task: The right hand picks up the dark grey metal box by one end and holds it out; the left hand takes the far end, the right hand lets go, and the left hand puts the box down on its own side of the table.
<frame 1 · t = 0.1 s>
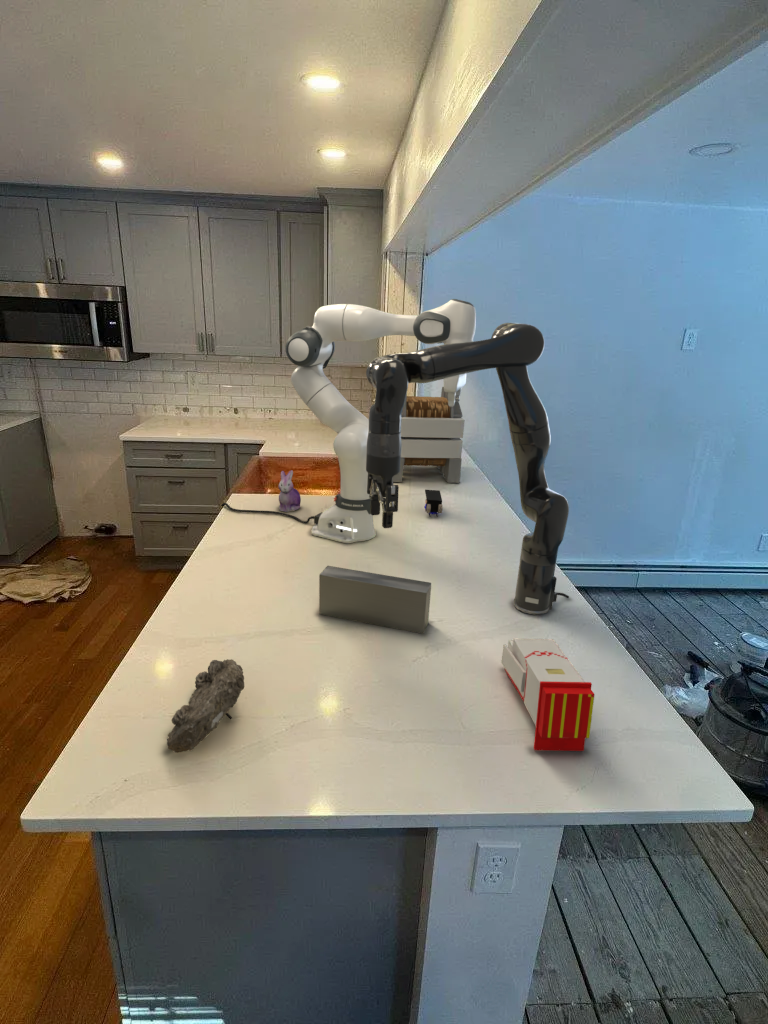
left hand: (453, 403, 174), 48 cm above the counter, tool pointing down, fingers open, 8 cm apart
right hand: (380, 520, 129), 29 cm above the counter, tool pointing down, fingers open, 8 cm apart
stacked crate on legs: (419, 473, 275), on the counter
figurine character: (432, 512, 222), on the counter
toy: (537, 702, 116), on the counter
fossil: (212, 717, 108), on the counter
box: (373, 618, 145), on the counter
figurine: (289, 508, 220), on the counter
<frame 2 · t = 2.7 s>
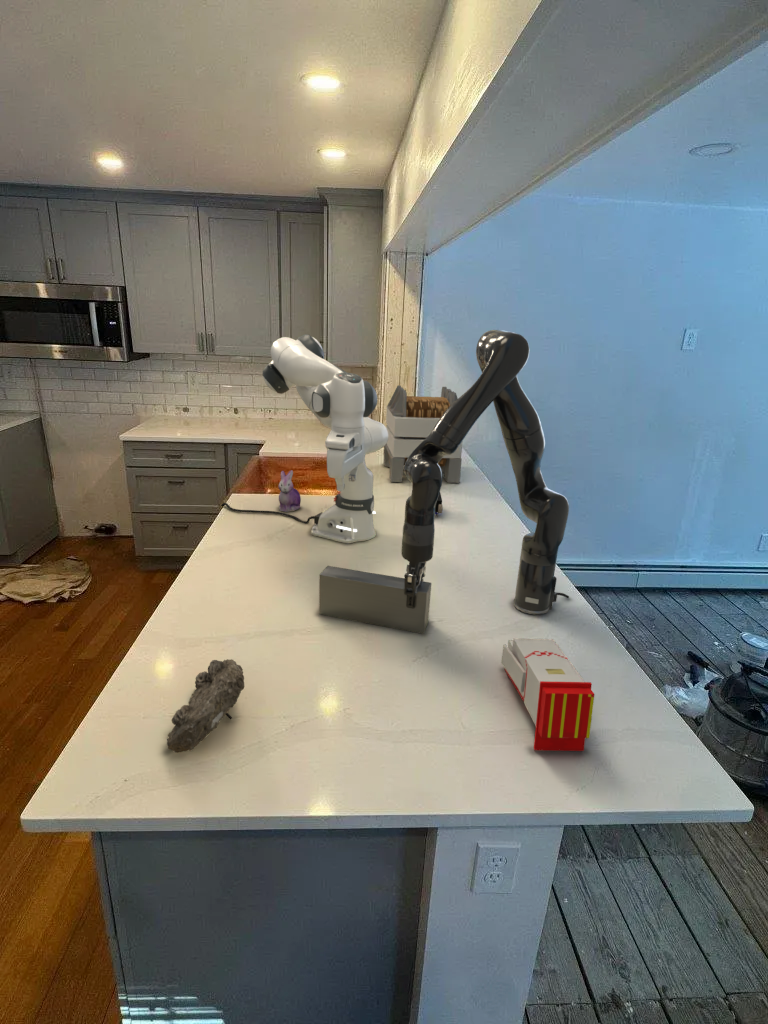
left hand: (346, 485, 156), 28 cm above the counter, tool pointing down, fingers open, 8 cm apart
right hand: (413, 601, 140), 7 cm above the counter, tool pointing down, fingers closed on box, 5 cm apart
box: (373, 618, 145), on the counter, touching right hand
everything else where it was.
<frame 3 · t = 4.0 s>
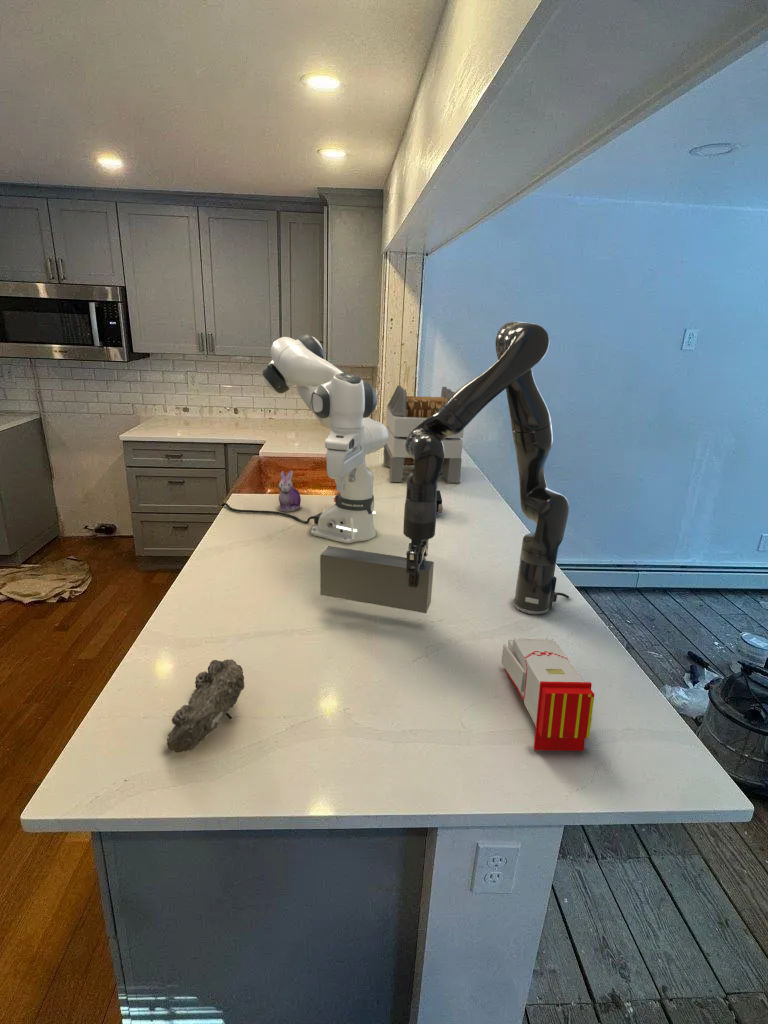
left hand: (346, 486, 156), 28 cm above the counter, tool pointing down, fingers open, 8 cm apart
right hand: (416, 580, 138), 13 cm above the counter, tool pointing down, fingers closed on box, 5 cm apart
box: (375, 598, 143), point 6 cm above the counter, touching right hand
everything else where it was.
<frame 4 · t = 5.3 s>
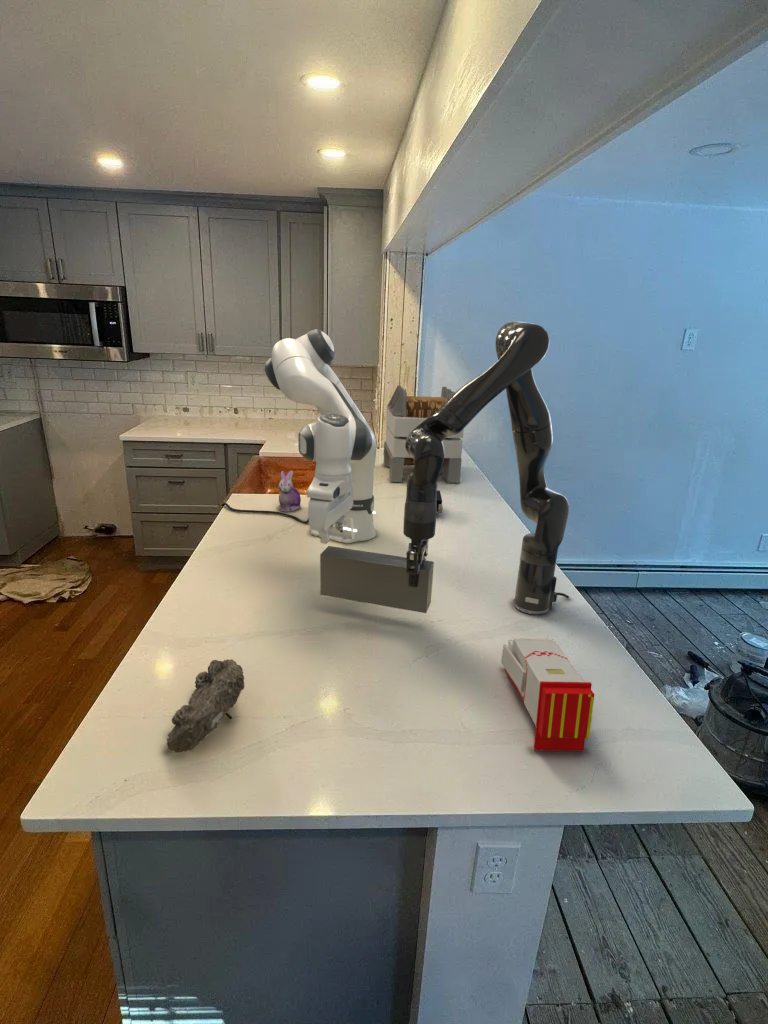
left hand: (332, 535, 141), 21 cm above the counter, tool pointing down, fingers open, 8 cm apart
right hand: (416, 580, 138), 13 cm above the counter, tool pointing down, fingers closed on box, 5 cm apart
box: (375, 598, 143), point 6 cm above the counter, touching right hand
everything else where it was.
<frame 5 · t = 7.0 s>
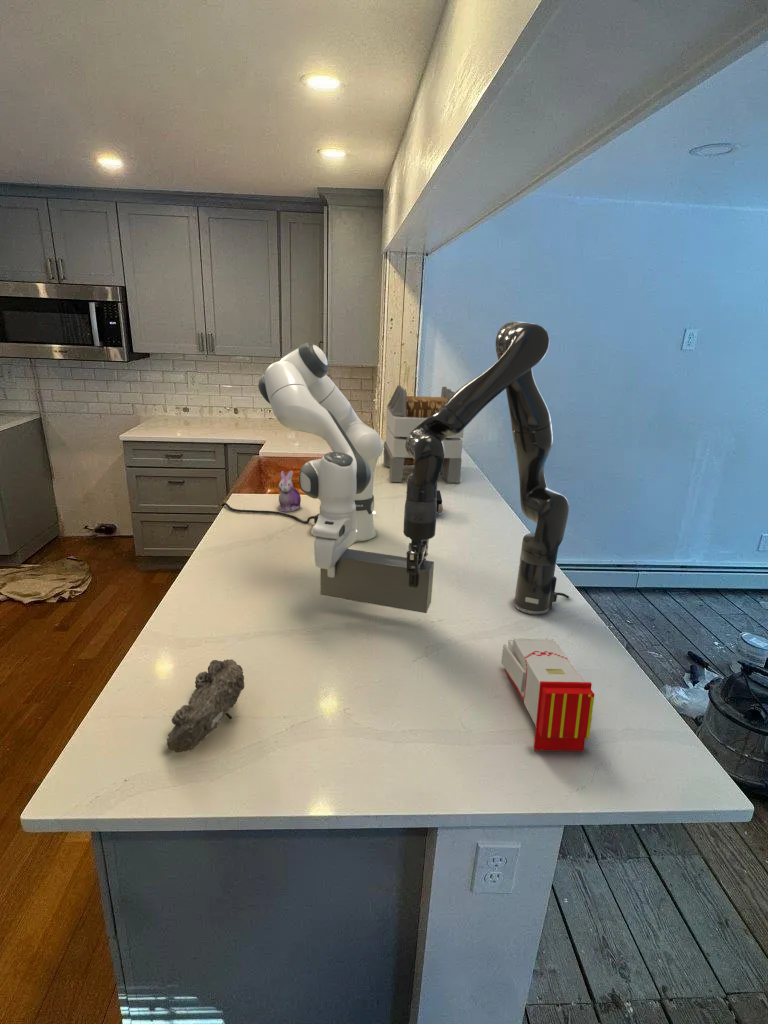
left hand: (336, 570, 143), 12 cm above the counter, tool pointing down, fingers closed on box, 6 cm apart
right hand: (416, 580, 138), 13 cm above the counter, tool pointing down, fingers closed on box, 5 cm apart
box: (375, 598, 143), point 6 cm above the counter, touching left hand, right hand
everything else where it was.
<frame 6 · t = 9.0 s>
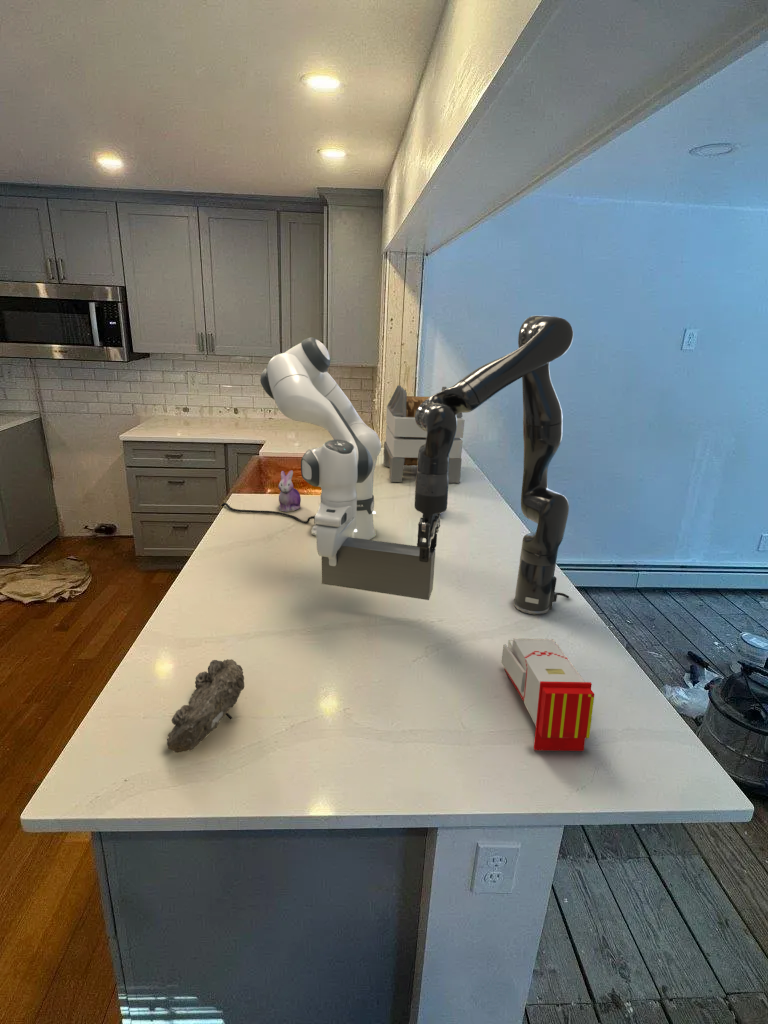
left hand: (337, 559, 143), 15 cm above the counter, tool pointing down, fingers closed on box, 6 cm apart
right hand: (427, 554, 135), 20 cm above the counter, tool pointing down, fingers open, 8 cm apart
box: (377, 586, 143), point 9 cm above the counter, touching left hand, right hand
everything else where it was.
when the left hand's fingers open (8 cm above the counter, at t = 11.4 s): box stays where it is, on the counter.
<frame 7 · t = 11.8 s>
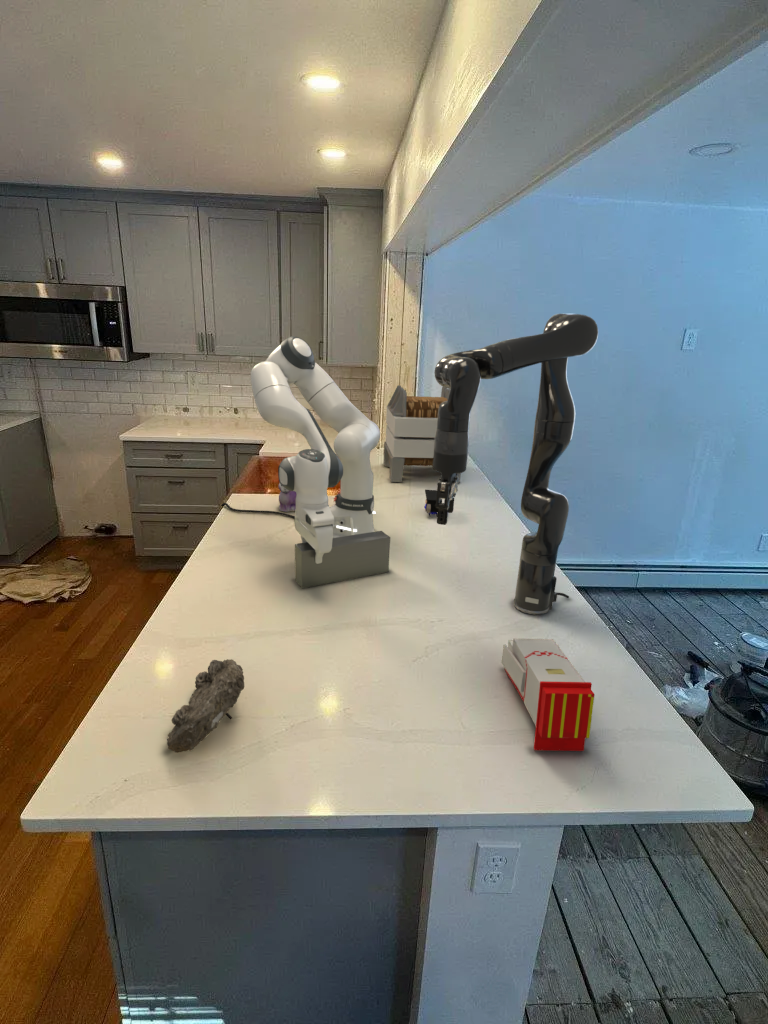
left hand: (312, 555, 160), 8 cm above the counter, tool pointing down, fingers open, 8 cm apart
right hand: (445, 517, 131), 30 cm above the counter, tool pointing down, fingers open, 8 cm apart
box: (342, 575, 167), on the counter
everything else where it was.
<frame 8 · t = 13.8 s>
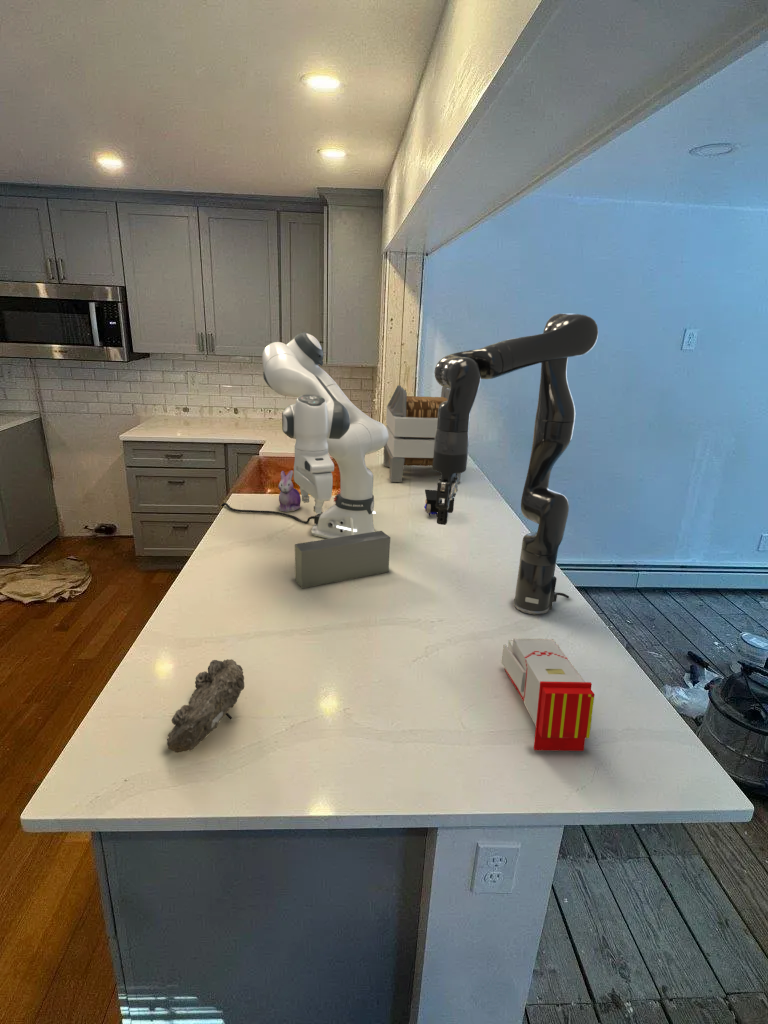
left hand: (311, 507, 155), 23 cm above the counter, tool pointing down, fingers open, 8 cm apart
right hand: (445, 517, 131), 30 cm above the counter, tool pointing down, fingers open, 8 cm apart
nothing on the counter moved.
at the end: box inside the target area (9.8 cm from its centre), on the counter; the left hand is holding nothing; the right hand is holding nothing; box at rest at the end (0.0 cm/s) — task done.
